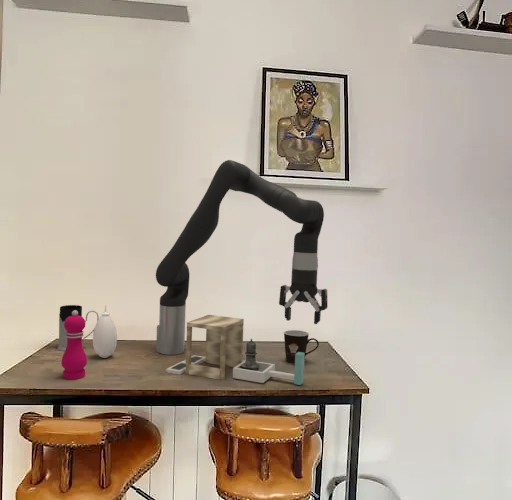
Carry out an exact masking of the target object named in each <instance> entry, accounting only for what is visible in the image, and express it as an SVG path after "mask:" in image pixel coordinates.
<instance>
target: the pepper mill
mask: <svg viewBox="0 0 512 500" xmlns="http://www.w3.org/2000/svg"><path fill="white" fill-rule="evenodd" d="M85 320H86V319H85V318H84V317H83V316H82V317H81V316H79V315H78V311H76V310H74V311H73V312H72V316H69V317H68V318H66V320H65V322H64V328H65V329H66V330H67V332H66V337H67V347H66V350H65V351H63V352H64V353H63V355H62V357H61V362H60V363H61V366H62V368H63V369H64V370H62V377H64V378H63V379H65V378H67V379H66V380H79V379H82V378H84V377H86V369H85V367H86V365H88V358H87V357H88V356H87V355H86V351H85V349H84V346H82V345H83V343H82V339H83V338H84V337H85V336H84V331H83V330H84V329H85V328H86V322H85ZM78 378H79V379H78Z"/></svg>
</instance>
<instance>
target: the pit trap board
mask: <svg viewBox="0 0 512 500" xmlns="http://www.w3.org/2000/svg"><path fill="white" fill-rule="evenodd" d="M205 358H206V356H203V355H202V356H201V355H197V354H196V355H191V364H196V365H201V364H202V363H204V362H205ZM165 372H166V373H168V374H173V375H178V376H179V375H182V374H183V373H186V359H184V360H182V361H179V362H177V363H176V364H174V365H172V366H169V367H168V368H165Z"/></svg>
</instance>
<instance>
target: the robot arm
mask: <svg viewBox="0 0 512 500" xmlns="http://www.w3.org/2000/svg"><path fill="white" fill-rule="evenodd" d="M229 190H230V191H233V192H241V193H245V194H248V195H252V196H254V197H256V198H258V199H260V200H261V201H262V203H264V204H266V205H268V207H271V208H273V209H275V210H276V211H279V212H281V213H283V215H284V216H286V217H287V218H288V219H290V220H291V221H293V222H295V223H297V224H302V227H301V230H300V231H298V232H297V233H296V234H295V235H294V238H293V239H294V240H293V254H292V255H293V256H292V261H291V262H292V263H291V282H290V283H291V285H290V286H288V285H287V284H283V285H281V286H280V290H279V292H280V293H279V298H278V299H279V300H278V305H279V306H282V307H283V308H284V318H285V319H286V321H291V319H292V318H291V317H292V307H291V306H292V305H293V304H294V303H295V302H298V303H300V302H303V303H310V305H311V306H312V307H313V308H314V310H315V311H314V317H313V324H314V325H318V324H319V322H320V321H321V313H322V311H325V310H326V309H328V289H327V288H320V289H319V288H318V286H317V285H318V283H317V282H318V268H319V265H318V264H319V263H318V261H319V259H318V258H319V257H318V246H319V242H318V241H319V237H320V234H321V231H322V226H323V223H324V217H325V212H324V211H325V210H324V207H323V205H322V204H321V203H320V202H319V201H318V200H311V199H304V198H300V197H298V195H297V194H296V193H295V192H293V191H292V190H290V189H288V188H285V187H284V186H281V185H279V184H277V183H274V182H271V181H269V180H267V179H265V178H263V177H262V176H260V175H258V174H257V173H256V172H254V171H253V170H252V169H251V168H249V167H248V166H247V165H246V164H243V163H241V162H238V161H235V160H232V159H227V160H225V161H223V162H222V163H221V164H220V165H219V166H218V168H217V170H216V171H215V173H214V175H213V177H212V179H211V182H210V184H209V186H208V188H207V189H206V192H205V194H204V195H203V197H202V199H201V200H200V202H199V204H198V205H197V207H196V209H195V210H194V212H193V213H192V214H191V217H190V218H189V220H188V221H187V222H186V225H185V226H184V228H183V230H182V232H181V233H180V234H179V236H178V238H177V239H176V241H175V242H174V244H173V246H172V247H171V249H170V250H169V251H168V253H166V255H165V256H164V258H163V259H162V260H161V261H160V262H159V264H158V266H157V268H156V270H155V280H156V283H157V284H159V285H160V286H162V287H165V288H166V287H167V288H166V291H165V292H164V293H163V294H162V295H161V296H160V298H159V321H158V322H159V323H158V324H157V325H156V343H155V344H156V347H155V352H157V353H160V354H161V355H169V356H171V355H172V356H174V355H181V354H183V353H185V347H186V346H185V345H186V344H185V339H186V337H185V335H186V306H187V305H186V304H187V303H186V302H187V299H188V296H189V287H190V269H189V266H188V264H187V263H186V262H187V261H188V260H189V258H191V256H192V255H194V254H195V253H196V252H197V251H199V250H200V249H201V248H202V247H204V245H205V244H206V243H208V241H209V240H210V238H211V236H213V234H214V232H215V230H216V229H217V227H218V224H219V219H220V208H221V203H222V202H223V200H224V198H225V197H226V194H227V193H228V192H229ZM289 292H290V294H291V295H292V296H290V298H289V299H288V301H287V293H289ZM318 294H319V295H318ZM316 295H318V296H319V297H321V298H320V301H321V303H319V301H318V299H317V298H316Z"/></svg>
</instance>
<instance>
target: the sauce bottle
mask: <svg viewBox="0 0 512 500" xmlns="http://www.w3.org/2000/svg"><path fill="white" fill-rule="evenodd" d="M100 315H101V316H99V319H98V321H97V320H96V323H95V325H94V328H95V329H94V328H93V330H94V331H93V332H92V346H93V349H94V351H95V353H96V355H97V356H99V357H100V358H102V359H107V358H109V357H110V356H111V355H112V354H114V352H115V350H116V347H117V344H118V333H117V328H116V325H115V323H114V320H113V318H112V317H111V315H110V313H109V312H107V306H106V305H105V306H104V312H102V313H101V314H100Z"/></svg>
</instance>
